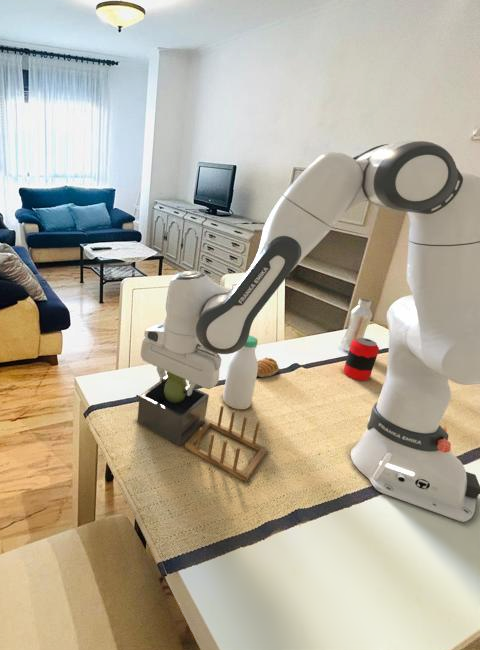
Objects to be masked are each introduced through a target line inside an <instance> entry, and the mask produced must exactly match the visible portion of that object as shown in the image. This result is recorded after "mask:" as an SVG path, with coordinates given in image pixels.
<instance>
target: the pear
mask: <svg viewBox="0 0 480 650" xmlns="http://www.w3.org/2000/svg"><path fill="white" fill-rule="evenodd" d="M166 376H168V379H167V381H166V383H165V388H164V395H165V397H166V399H167V400H168V401H170V402H172V403H179V402H181V401H182V400H183V399H184V398H185V396H186V394H184V393H183V392H184V388H185V387H186V386H187V385H188V383H187V380H186V379H183V378H181V377H179V376H177V375H174V374H172V373H170V372H168V371H166Z"/></svg>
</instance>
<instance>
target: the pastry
mask: <svg viewBox="0 0 480 650" xmlns="http://www.w3.org/2000/svg"><path fill="white" fill-rule="evenodd" d="M257 363H258V371H257V377H260V378H266V377H267V378H268V377H271V376H273V375H276V374H277V373H278V372H279V371H280V368H279V364H278V362H277V361H276V360H275V359H274V358H271V357H270V358H269V357H265V358H262V359H259V360H257Z"/></svg>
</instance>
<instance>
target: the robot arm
mask: <svg viewBox="0 0 480 650" xmlns="http://www.w3.org/2000/svg"><path fill="white" fill-rule="evenodd" d="M363 202H367V203H370V204H372V205H375V206H377V207H379V208H387V209H391V210H394V211H398V212H405V213H407V216H408V221H409V228H408V239H407V255H406V257H407V258H406V272H405V273H406V274H405V278H406V283H407V286H408V287H409V289H410V292H411V294H409V295H405V296H402V297H400V298H398V299H397V300H395V301H394V302H393V303H392V304H391V305H390V307H389V308H388V310H387V311H386V323H387V327H388V351H387V352H388V353H387V368H386V374H385V378H384V382H383V385H382V388H381V391H380V393H379V397H378V400H377V401H376V402H375V403H374V404H373V406H372V407H371V409H370V412H369V416H368V419H367V422H366V423H367V424H366V428H365V431H364V432H363V434H362V436H361V438H360V439H359V440H358V442H357V443H356V444H355V445H354V446H353V447H352V449H351V451H350V458H351V461H352V463H353V465H354V466H355V467H356V469H358V470H359V472H361V474H363V476H365V477H366V478H367V479H368V480H369V482H370V483H371V485H372V486H373V488H374V489H375V490H376V491H378V492H379V493H381V494H383V495H386V496H389V497H392V498H395V499H398V500H399V501H403V502H405V503H409V504H411V505H414V506H417V507H418V508H422V509H425V510H428V511H431V512H433V513H436V514H438V515H441V516H444V517H447V518H449V519H452V520H456V521H458V522H461V523H465V522H468V521H470V520H471V519H472V518H473V516H474V514H475V511H476V500H477V498H478V497H479V496H480V483H479V480H478V477H477V475H476V474H475V473H471V472H468V471H466V468H465V466H464V464H463V462H462V461H461V460H460V459H459V458H458V457H457V456H456V454H454V453H453V452H452V451H451V449H452V448H451V446H452V444H451V442H450V441H449V433H448V432H447V427H446V425H444V426H441V423H442V421H443V419H444V416H445V413H446V412H447V409H448V407H449V405H450V402H451V401H452V400H451V399H452V391H451V387H450V384H449V381H450V382H452V383H455V384H457V385H462V386H475V385H476V386H477V385H480V177H479V176H478V175H474V174H471V173H464V172H460V170H459V169H458V168H457V165H456V162H455V160H454V158H453V156H452V155H451V153H450V152H448V151H447V150H446V149H445V148H444V147H443V146H441V145H439V144H437V143H434V142H430V141H426V140H420V141H415V140H399V141H394V142H391V143H385V144H380V145H377V146H374V147H371V148H370V149H368V150H365V151H364V152H363V153H360V154H359V155H356V156H354V157H352V156H350V155H347V154H346V153H341V152H333V151H332V152H331V151H330V152H327V153H323V154H321V155H319V156H318V157H317V158H315V160H313V161H312V163H310V164H309V165H308V166H307V167H306V168H305V169H304V170H303V171H302V172H301V173H300V174H299V175H298V176H297V178H296V179H294V180H293V182H292V183H291V184H290V186H289V187H288V188H287V189H286V190H285V191H284V193H283V194H282V195H281V197H280V198H279V200H278V201H277V202H276V204H275V205H274V206H273V208H272V209H271V212H270V213H269V215H268V217H267V219H266V221H265V223H264V225H263V227H262V231H261V237H260V242H259V245H258V249H257V252H256V255H255V257H254V259H253V261H252V263H251V265H250V267H249V268H248V269H247V270H246V272H245V273H244V274H243V276H242V277H241V279H240V280H239V281H238V283H236V285H235V287H234V288H233V289H232V288H228V287H225V286H223V285H221V284H219V283H218V282H216V281H215V280H213V279H211V278H210V277H209V276H208V274H207V273H205V272H203V271H199V270H184V271H180V272H178V273H175V275H173V277H172V278H171V279H170V281H169V285H168V288H167V294H166V301H165V313H166V317H165V319H164V322H160V323H156V324H154V325H152V326H150V327H148V328H147V329H145V330H144V333H143V334H144V339H143V340H142V343H141V347H140V358H141V359H142V361H143V362H145V363H147V364H150V365H152V366H154V367H156V371H157V374H158V376H159V381H160V383H162V384H164V385H165V383H166V381H167V379H168V376H167V371H168V372H170V373H172V374H174V375H177V376H179V377H181V378H183V379H186V381H188V384H187V386H186V387H185V388H184V392H183V393H184V394H186V395H188V396H190V395H191V394H192V390H193V388H195V387H196V386H200V387H202V388H204V389H207V390H211V389H213V388H215V386H217V384H218V383H219V380H220V367H221V364H222V357H221V356H220V355H229V354H233V353H234V354H235V352H236V351H238V350H240V349H241V348H242V347H243V346H244V345H245V343H246V342H247V340H248V337H249V335H250V332H251V328H252V324H253V322H254V321H255V319H256V317H257V316H258V314H259V313H260V312H261V310H262V309H263V308H264V307H265V305H266V304H267V303H268V301H269V300H270V299H271V298H272V296H273V295H274V294H275V293H276V291H277V290H278V289H279V287H280V286H281V285H282V283H283V282H284V281H285V280H286V278H287V277H288V276H289V275H290V273H291V272H293V270H294V269H295V268H296V267H297V266H298V265H299V264H300V263H301V262H302V261H303V260H304V258H306V257H307V255H308V254H309V253H311V252H312V251H313V249H314V248H315V247H317V245H319V243H320V242H321V241H322V240H323V239H324V238H325V237H326V236H327V235H328V233H330V231H331V230H332V229H333V228H334V226H335V225H336V224H337V223H338V222H339V221H340V220H341V218H342V217H343V216H344V214H345V213H347V212H348V211H349V210H350V209H352V208H353V207H355V206H356V205H358V204H360V203H363Z"/></svg>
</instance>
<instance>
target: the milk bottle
mask: <svg viewBox="0 0 480 650" xmlns="http://www.w3.org/2000/svg"><path fill="white" fill-rule="evenodd" d="M257 346H258V338H257V337H255V336H253V335H250V334H249V337H248V340H247V342H246V343H245V345H244V346H243V347H242V348H241V349H240V350H238V351H236V352H234V354H233V355H232V356H231V358H230V359H229V363H228V366H227V371H226V376H225V383H224V388H223V393H222V400H223V403H224V404H225V405H226V406H228V407H230V408H233V409H235V410H236V409H237V410H246V409H248V408H249V407H250V406H251V405H252V401H253V397H254V391H255V387H256V382H257V377H258V376H257V371H258V363H257V362H258V359H257V356H256V355H257V354H256V349H257Z"/></svg>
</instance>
